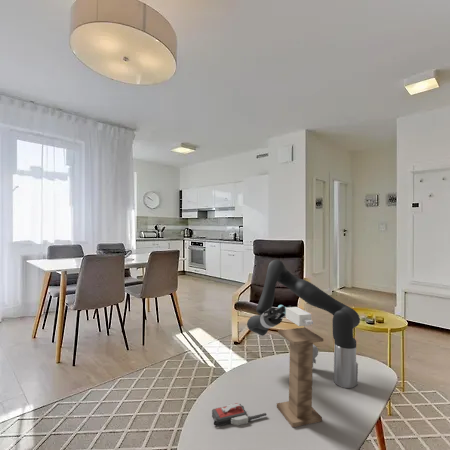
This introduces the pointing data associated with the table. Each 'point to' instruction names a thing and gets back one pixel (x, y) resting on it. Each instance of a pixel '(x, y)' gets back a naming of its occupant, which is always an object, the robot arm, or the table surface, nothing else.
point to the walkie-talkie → (232, 415)
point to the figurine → (315, 353)
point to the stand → (300, 378)
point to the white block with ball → (297, 316)
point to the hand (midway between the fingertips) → (287, 308)
